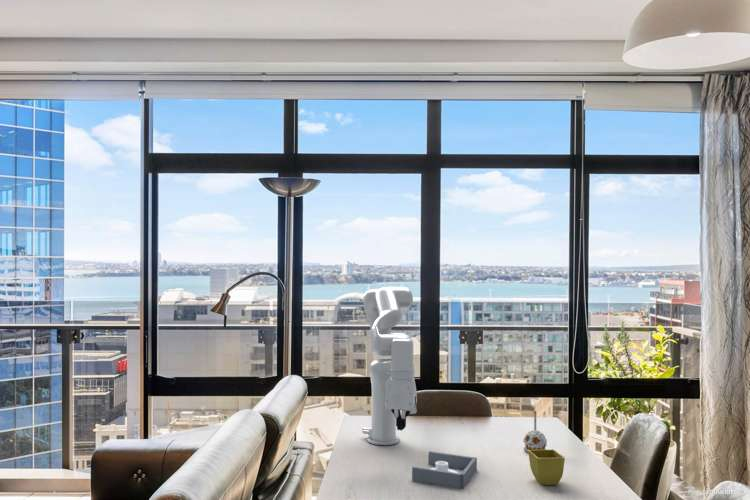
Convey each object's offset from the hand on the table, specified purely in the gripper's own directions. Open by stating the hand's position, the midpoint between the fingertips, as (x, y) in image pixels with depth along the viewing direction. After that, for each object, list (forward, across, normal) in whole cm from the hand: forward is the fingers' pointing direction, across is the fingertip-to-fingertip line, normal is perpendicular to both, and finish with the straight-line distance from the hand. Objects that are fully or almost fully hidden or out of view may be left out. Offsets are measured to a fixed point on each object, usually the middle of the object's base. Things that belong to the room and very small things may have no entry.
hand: (400, 429), depth 188 cm
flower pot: (+12, +47, +6) cm, 49 cm away
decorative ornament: (+13, +40, +36) cm, 55 cm away
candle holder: (+13, +15, -2) cm, 20 cm away
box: (+12, +16, -1) cm, 20 cm away
